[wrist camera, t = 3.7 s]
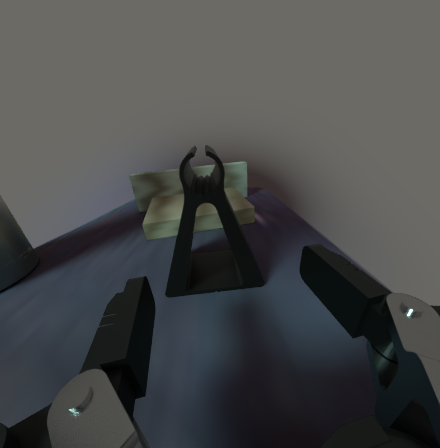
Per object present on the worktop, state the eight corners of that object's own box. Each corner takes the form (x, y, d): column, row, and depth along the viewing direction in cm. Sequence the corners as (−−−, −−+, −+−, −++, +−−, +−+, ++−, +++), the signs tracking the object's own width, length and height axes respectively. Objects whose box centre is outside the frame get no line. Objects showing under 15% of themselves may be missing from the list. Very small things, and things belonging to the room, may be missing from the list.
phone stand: (250, 249, 23) (249, 141, 17) (264, 286, 17) (270, 145, 12) (175, 257, 22) (150, 149, 17) (165, 297, 17) (126, 157, 12)
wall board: (124, 244, 26) (107, 195, 23) (141, 208, 38) (131, 173, 35) (272, 219, 29) (275, 174, 26) (244, 194, 42) (243, 161, 39)
